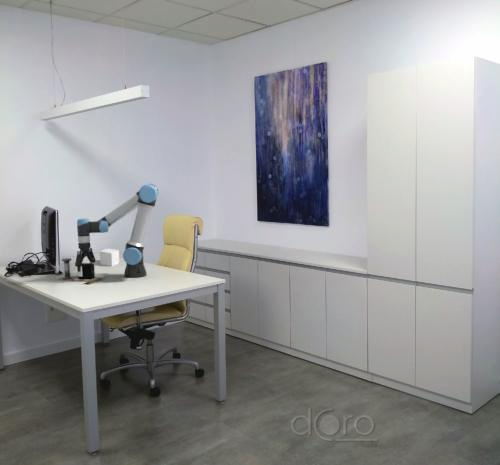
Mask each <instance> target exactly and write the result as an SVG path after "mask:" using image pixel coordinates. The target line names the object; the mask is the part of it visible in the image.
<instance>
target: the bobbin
mask: <svg viewBox="0 0 500 465" xmlns="http://www.w3.org/2000/svg"><path fill="white" fill-rule="evenodd" d="M71 261H72V258H70V257H69V258H61V262H63V270H64V273H63V274H64V276H63V277H62V278H63V279H72V276H73V275H71Z"/></svg>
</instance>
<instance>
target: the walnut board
mask: <svg viewBox="0 0 500 465" xmlns="http://www.w3.org/2000/svg"><path fill="white" fill-rule="evenodd" d="M71 276H72V279H63V277H60V278H57V279H56V281H58V282H59V281H60V282H62V281H63V282H81V283H82V284H83V285H93V284H95V283H98V282H101V281H103V280H104V277H99V276H95V278H93V279H91V280H90V279H78V275H71Z"/></svg>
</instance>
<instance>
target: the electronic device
mask: <svg viewBox="0 0 500 465" xmlns="http://www.w3.org/2000/svg"><path fill="white" fill-rule="evenodd" d="M79 265H80V264H79ZM81 266H82V276H78V275H77V276H78V279H90V280H91V279H93V278H95V277H96V276H95V275H96V274H95V264H93V263H91V262H82V264H81ZM76 269H77V268H76ZM77 272H78V269H77Z"/></svg>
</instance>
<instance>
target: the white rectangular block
mask: <svg viewBox="0 0 500 465" xmlns="http://www.w3.org/2000/svg"><path fill="white" fill-rule="evenodd" d="M99 260H100V261H99V262H100V265H102V266H107V267H114V266H116V265H118V264H119V263H120V250H119V249H114V248H103V249H102V250H100V251H99Z"/></svg>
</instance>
